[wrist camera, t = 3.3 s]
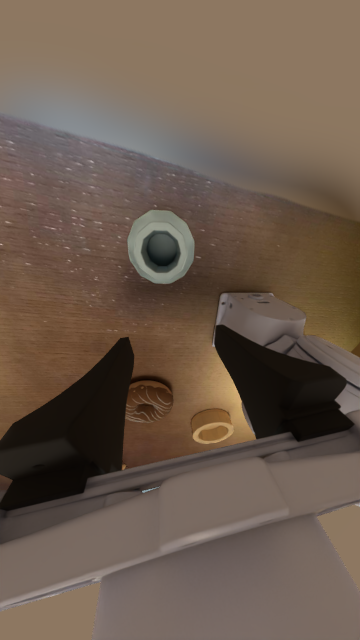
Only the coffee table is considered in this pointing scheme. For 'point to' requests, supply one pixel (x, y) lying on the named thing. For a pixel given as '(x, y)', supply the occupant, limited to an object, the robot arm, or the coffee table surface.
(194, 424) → the holder
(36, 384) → the coffee table surface
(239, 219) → the coffee table surface
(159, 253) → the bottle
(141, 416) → the donut
